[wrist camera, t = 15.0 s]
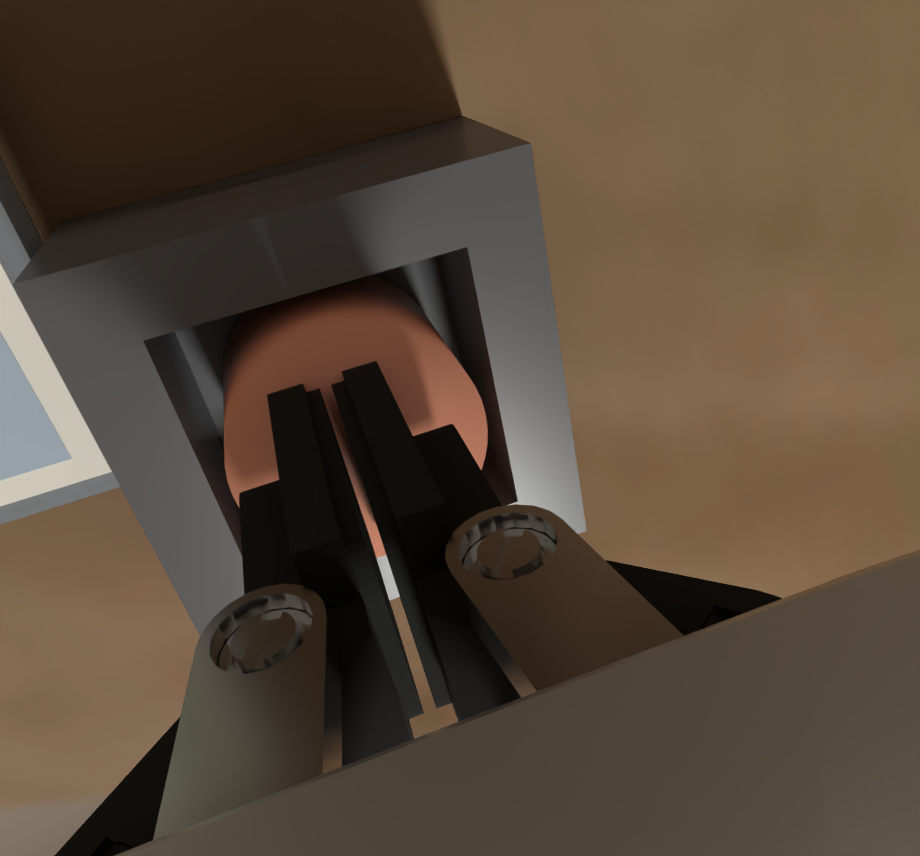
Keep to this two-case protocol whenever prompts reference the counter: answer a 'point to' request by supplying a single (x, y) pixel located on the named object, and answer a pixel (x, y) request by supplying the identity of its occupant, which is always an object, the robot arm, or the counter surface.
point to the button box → (289, 275)
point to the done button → (340, 375)
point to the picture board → (36, 394)
